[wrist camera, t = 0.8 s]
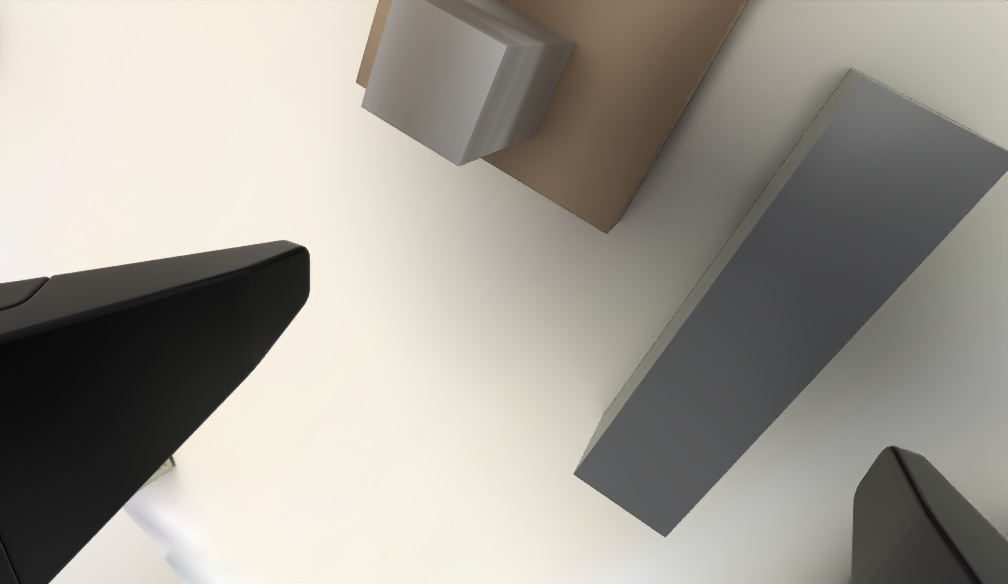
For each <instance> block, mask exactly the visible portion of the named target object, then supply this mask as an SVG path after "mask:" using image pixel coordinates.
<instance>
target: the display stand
mask: <svg viewBox="0 0 1008 584" xmlns="http://www.w3.org/2000/svg"><path fill="white" fill-rule="evenodd" d="M747 2H748V0H379V2H378V6H377V9H376V13H375V16H374V20H373V23H372V27H371V30H370V34H369V37H368V41H367V44H366V48H365V51H364V55H363V59H362V62H361V66H360V69H359V73H358V76H357V80H356V83H357V84H359V85H361V86H362V87H364V88H366V92H365V95H364V98H363V102H362V105H361V107H362V108H364V109H366V110H367V111H369V112H371V113H372V114H374V115H375V116H377V117H379V118H380V119H382V120H384V121H385V122H387V123H389V124H390V125H392V126H393V127H395V128H397V129H398V130H400V131H402V132H403V133H405V134H407V135H408V136H410V137H411V138H413V139H415V140H416V141H418V142H420V143H421V144H423V145H425V146H426V147H428V148H429V149H431V150H433V151H434V152H436V153H438V154H439V155H441V156H443V157H444V158H446V159H447V160H449V161H451V162H452V163H454V164H456V165H457V166H461V165H463V164H466V163H468V162H471V161H473V160H476V159H478V158H482V159H483V160H485V161H487V162H488V163H490V164H492V165H493V166H495V167H497V168H498V169H500V170H502V171H503V172H505V173H507V174H508V175H510V176H512V177H513V178H515V179H517V180H518V181H520V182H522V183H523V184H525V185H527V186H528V187H530V188H532V189H533V190H535V191H536V192H538V193H540V194H541V195H543V196H545V197H546V198H548V199H550V200H551V201H553V202H555V203H556V204H558V205H560V206H561V207H563V208H565V209H566V210H568V211H570V212H571V213H573V214H575V215H576V216H578V217H580V218H581V219H583V220H585V221H586V222H588V223H590V224H591V225H593V226H594V227H596V228H598V229H599V230H601V231H603V232H604V233H606V234H608V232H609V231H610V230H611V229H612V228H613V227H614V226H615V225H616V224H617V223H618V222H619V220H620V219H621V217H622V215H623V214H624V212H625V210H626V208H627V207H628V205H629V203H630V202H631V200H632V198H633V196H634V195H635V193H636V191H637V190H638V188H639V186H640V184H641V183H642V181H643V179H644V178H645V176H646V174H647V173H648V171H649V169H650V167H651V166H652V164H653V162H654V161H655V159H656V157H657V155H658V154H659V152H660V150H661V149H662V147H663V145H664V143H665V142H666V140H667V138H668V137H669V135H670V133H671V132H672V130H673V128H674V126H675V125H676V123H677V121H678V120H679V118H680V116H681V114H682V113H683V111H684V109H685V108H686V106H687V104H688V103H689V101H690V99H691V97H692V96H693V94H694V92H695V91H696V89H697V87H698V85H699V84H700V82H701V80H702V79H703V77H704V75H705V73H706V72H707V70H708V68H709V67H710V65H711V63H712V62H713V60H714V58H715V56H716V55H717V53H718V51H719V50H720V48H721V46H722V44H723V43H724V41H725V39H726V38H727V36H728V34H729V33H730V31H731V29H732V27H733V26H734V24H735V22H736V21H737V19H738V17H739V15H740V14H741V12H742V10H743V9H744V7H745V5H746V3H747Z"/></svg>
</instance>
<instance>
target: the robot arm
mask: <svg viewBox="0 0 1008 584" xmlns="http://www.w3.org/2000/svg"><path fill="white" fill-rule="evenodd" d="M309 292H310V254H309V251H308V250H307V248H306V247H304V246H301V245H299V244H296V243H293V242H290V241H286V240H280V241H274V242H267V243H261V244H254V245H248V246H241V247H235V248H228V249H222V250H216V251H209V252H203V253H196V254H190V255H183V256H177V257H170V258H164V259H157V260H151V261H144V262H138V263H132V264H125V265H119V266H112V267H106V268H99V269H93V270H86V271H80V272H73V273H67V274H60V275H54V276H52V277H51V278H50V279H49V278H48V277H40V278H34V279H27V280H21V281H14V282H7V283H0V584H49V583H50V582H51V581H52V580H53V579H54V578H55V576H56V575H57V574H58V573H59V572H60V571H61V570H62V569H63V568H64V567H65V566H66V565H67V564H68V563H69V562H70V561H71V560H72V559H73V558H74V557H75V556H76V555H77V553H79V552H80V550H81V549H82V548H83V547H84V546H85V545H86V544H87V543H88V542H89V541H90V540H91V539H92V538H93V537H94V536H95V535H96V534H97V533H98V532H99V531H100V530H101V529H102V528H103V527H104V525H105V524H106V523H107V522H108V521H109V520H110V519H111V518H112V517H113V516H114V515H115V514H116V513H117V512H118V511H119V510H120V509H121V508H122V507H123V506H124V505H125V504H126V503H127V502H128V501H129V500H130V498H131V497H132V496H133V495H134V494H135V493H136V492H137V491H138V490H139V489H140V488H141V487H142V486H143V485H144V484H145V483H146V482H147V481H148V480H149V479H150V478H151V477H152V476H153V475H154V474H155V472H156V471H157V470H158V469H159V468H160V467H161V466H162V465H163V464H164V463H165V462H166V461H167V460H168V459H169V458H170V457H171V456H172V455H173V454H174V453H175V452H176V451H177V450H178V449H179V447H180V446H181V445H182V444H183V443H184V442H185V441H186V440H187V439H188V438H189V437H190V436H191V435H192V434H193V433H194V432H195V431H196V430H197V429H198V428H199V427H200V426H201V425H202V424H203V423H204V421H205V420H206V419H207V418H208V417H209V416H210V415H211V414H212V413H213V412H214V411H215V410H216V409H217V408H218V407H219V406H220V405H221V404H222V403H223V402H224V401H225V400H226V399H227V398H228V397H229V395H230V394H231V393H232V392H233V391H234V390H235V389H236V388H237V387H238V386H239V385H240V384H241V383H242V382H243V381H244V380H245V379H246V378H247V377H248V375H249V374H250V373H251V372H252V371H253V370H254V369H255V368H256V366H257V365H258V364H259V363H260V362H261V360H262V359H263V358H264V357H265V355H266V354H267V353H268V351H269V350H270V349H271V348H272V346H273V345H274V344H275V342H276V341H277V340H278V338H279V337H280V336H281V335H282V333H283V332H284V331H285V329H286V328H287V327H288V326H289V324H290V323H291V322H292V320H293V319H294V318H295V316H296V315H297V314H298V313H299V311H300V310H301V309H302V307H303V306H304V305H305V303H306V301H307V299H308V297H309ZM851 584H1008V542H1007V541H1006V539H1005V538H1004V537H1003V536H1002V535H1001V534H1000V533H999V532H998V531H997V530H996V529H995V528H994V527H993V526H992V525H991V524H990V523H989V522H988V521H987V520H986V519H985V518H984V517H983V516H982V515H981V514H980V513H979V512H978V511H977V510H976V509H975V508H974V507H973V506H972V505H971V504H970V503H969V502H968V501H967V500H966V499H965V498H964V497H963V496H962V495H961V494H960V493H959V492H958V491H957V490H956V489H955V488H954V487H953V486H952V485H951V484H950V483H949V482H948V481H947V480H946V479H945V477H944V476H943V475H942V474H941V473H940V472H939V471H938V470H937V469H936V468H935V467H934V466H933V465H932V464H931V463H930V462H929V461H928V460H927V459H926V458H925V457H923V456H921V455H920V454H917V453H914V452H911V451H908V450H905V449H902V448H899V447H896V446H890V447H886V448H885V449H884V450H883V451H882V452H881V453H880V455H879V456H878V457H877V459H876V460H875V462H874V463H873V465H872V466H871V468H870V469H869V471H868V472H867V473H866V475H865V476H864V478H863V479H862V481H861V482H860V484H859V485H858V487H857V490H856V493H855V497H854V507H853V540H852V573H851Z"/></svg>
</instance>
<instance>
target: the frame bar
mask: <svg viewBox="0 0 1008 584" xmlns="http://www.w3.org/2000/svg"><path fill="white" fill-rule="evenodd" d="M1007 171H1008V151H1007V150H1006V149H1004V148H1002V147H1001V146H999V145H997V144H995V143H994V142H992V141H990V140H988V139H987V138H985V137H983V136H981V135H980V134H978V133H976V132H974V131H972V130H970V129H969V128H967V127H965V126H963V125H961V124H959V123H957V122H955V121H953V120H951V119H949V118H947V117H945V116H943V115H941V114H939V113H937V112H936V111H934V110H932V109H930V108H928V107H926V106H924V105H922V104H920V103H918V102H916V101H914V100H912V99H910V98H908V97H906V96H904V95H903V94H901V93H899V92H897V91H895V90H893V89H891V88H889V87H887V86H885V85H883V84H881V83H879V82H877V81H875V80H873V79H871V78H870V77H868V76H866V75H864V74H862V73H860V72H858V71H856V70H854V69H852V68H851V69H850V70H849V72H848V73H847V74H846V76H845V77H844V79H843V80H842V81H841V83H840V84H839V86H838V87H837V88H836V90H835V91H834V93H833V94H832V95H831V97H830V98H829V100H828V101H827V102H826V104H825V105H824V107H823V108H822V109H821V111H820V112H819V114H818V115H817V116H816V118H815V119H814V121H813V122H812V123H811V125H810V126H809V128H808V129H807V130H806V132H805V133H804V135H803V136H802V137H801V139H800V140H799V142H798V143H797V144H796V146H795V147H794V149H793V150H792V151H791V153H790V154H789V156H788V157H787V158H786V160H785V161H784V163H783V164H782V165H781V167H780V168H779V170H778V171H777V172H776V174H775V175H774V177H773V178H772V179H771V181H770V182H769V184H768V185H767V186H766V188H765V189H764V191H763V192H762V193H761V195H760V196H759V198H758V199H757V200H756V202H755V203H754V205H753V206H752V207H751V209H750V210H749V212H748V213H747V214H746V216H745V217H744V219H743V220H742V221H741V223H740V224H739V226H738V227H737V228H736V230H735V231H734V233H733V234H732V235H731V237H730V238H729V240H728V241H727V242H726V244H725V245H724V247H723V248H722V249H721V251H720V252H719V254H718V255H717V256H716V258H715V259H714V261H713V262H712V264H711V265H710V266H709V268H708V269H707V271H706V272H705V273H704V275H703V276H702V278H701V279H700V280H699V282H698V283H697V285H696V286H695V287H694V289H693V290H692V292H691V293H690V294H689V296H688V297H687V299H686V300H685V301H684V303H683V304H682V306H681V307H680V308H679V310H678V311H677V313H676V314H675V315H674V317H673V318H672V320H671V321H670V322H669V324H668V325H667V327H666V328H665V329H664V331H663V332H662V334H661V335H660V336H659V338H658V339H657V341H656V342H655V343H654V345H653V346H652V348H651V349H650V350H649V352H648V353H647V355H646V356H645V357H644V359H643V360H642V362H641V363H640V364H639V366H638V367H637V369H636V370H635V371H634V373H633V374H632V376H631V377H630V378H629V380H628V381H627V383H626V384H625V385H624V387H623V388H622V390H621V391H620V392H619V394H618V395H617V397H616V398H615V399H614V401H613V402H612V404H611V405H610V406H609V408H608V409H607V411H606V412H605V413H604V415H603V417H602V419H601V421H600V423H599V425H598V427H597V429H596V431H595V433H594V435H593V437H592V439H591V441H590V442H589V444H588V446H587V448H586V450H585V452H584V454H583V456H582V458H581V460H580V462H579V464H578V466H577V468H576V470H575V472H574V475H575V476H577V477H578V478H580V479H581V480H583V481H584V482H585V483H587V484H588V485H590V486H591V487H593V488H594V489H596V490H597V491H599V492H600V493H601V494H603V495H604V496H606V497H607V498H609V499H610V500H612V501H613V502H614V503H616V504H617V505H619V506H620V507H622V508H623V509H625V510H626V511H627V512H629V513H630V514H632V515H633V516H635V517H636V518H638V519H639V520H641V521H642V522H643V523H645V524H646V525H648V526H649V527H651V528H652V529H654V530H655V531H656V532H658V533H659V534H661V535H662V536H664V537H666V536H667V535H668V534H669V533H670V532H671V531H672V530H673V529H674V528H675V527H676V526H677V524H678V523H679V522H680V521H681V520H682V519H683V518H684V517H685V516H686V515H687V514H688V513H689V512H690V510H691V509H692V508H693V507H694V506H695V505H696V504H697V503H698V502H699V501H700V500H701V499H702V498H703V497H704V495H705V494H706V493H707V492H708V491H709V490H710V489H711V488H712V487H713V486H714V485H715V484H716V483H717V482H718V480H719V479H720V478H721V477H722V476H723V475H724V474H725V473H726V472H727V471H728V470H729V469H730V468H731V467H732V465H733V464H734V463H735V462H736V461H737V460H738V459H739V458H740V457H741V456H742V455H743V454H744V453H745V452H746V450H747V449H748V448H749V447H750V446H751V445H752V444H753V443H754V442H755V441H756V440H757V439H758V438H759V436H760V435H761V434H762V433H763V432H764V431H765V430H766V429H767V428H768V427H769V426H770V425H771V424H772V423H773V421H774V420H775V419H776V418H777V417H778V416H779V415H780V414H781V413H782V412H783V411H784V410H785V409H786V408H787V406H788V405H789V404H790V403H791V402H792V401H793V400H794V399H795V398H796V397H797V396H798V395H799V394H800V393H801V391H802V390H803V389H804V388H805V387H806V386H807V385H808V384H809V383H810V382H811V381H812V380H813V379H814V378H815V376H816V375H817V374H818V373H819V372H820V371H821V370H822V369H823V368H824V367H825V366H826V365H827V364H828V362H829V361H830V360H831V359H832V358H833V357H834V356H835V355H836V354H837V353H838V352H839V351H840V350H841V349H842V347H843V346H844V345H845V344H846V343H847V342H848V341H849V340H850V339H851V338H852V337H853V336H854V335H855V334H856V332H857V331H858V330H859V329H860V328H861V327H862V326H863V325H864V324H865V323H866V322H867V321H868V320H869V319H870V317H871V316H872V315H873V314H874V313H875V312H876V311H877V310H878V309H879V308H880V307H881V306H882V305H883V304H884V302H885V301H886V300H887V299H888V298H889V297H890V296H891V295H892V294H893V293H894V292H895V291H896V290H897V288H898V287H899V286H900V285H901V284H902V283H903V282H904V281H905V280H906V279H907V278H908V277H909V276H910V275H911V273H912V272H913V271H914V270H915V269H916V268H917V267H918V266H919V265H920V264H921V263H922V262H923V261H924V260H925V258H926V257H927V256H928V255H929V254H930V253H931V252H932V251H933V250H934V249H935V248H936V247H937V246H938V245H939V243H940V242H941V241H942V240H943V239H944V238H945V237H946V236H947V235H948V234H949V233H950V232H951V231H952V230H953V228H954V227H955V226H956V225H957V224H958V223H959V222H960V221H961V220H962V219H963V218H964V217H965V216H966V214H967V213H968V212H969V211H970V210H971V209H972V208H973V207H974V206H975V205H976V204H977V203H978V202H979V201H980V199H981V198H982V197H983V196H984V195H985V194H986V193H987V192H988V191H989V190H990V189H991V188H992V187H993V186H994V184H995V183H996V182H997V181H998V180H999V179H1000V178H1001V177H1002V176H1003V175H1004V174H1005V173H1006V172H1007Z"/></svg>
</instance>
